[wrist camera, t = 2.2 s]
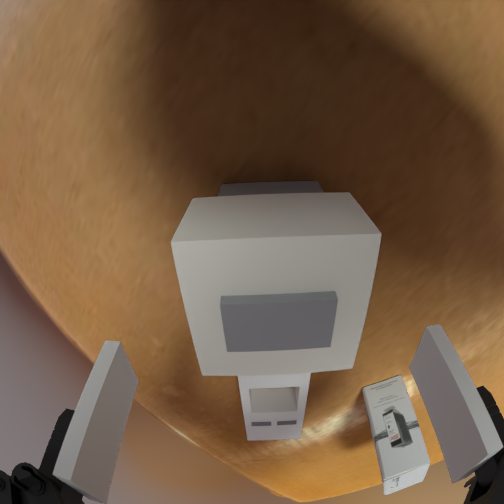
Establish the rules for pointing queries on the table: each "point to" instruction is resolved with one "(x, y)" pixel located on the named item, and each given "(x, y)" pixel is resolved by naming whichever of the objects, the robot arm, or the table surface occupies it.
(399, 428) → the ink box
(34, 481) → the robot arm
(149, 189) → the table surface
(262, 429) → the socket
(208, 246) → the plug
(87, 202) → the table surface
